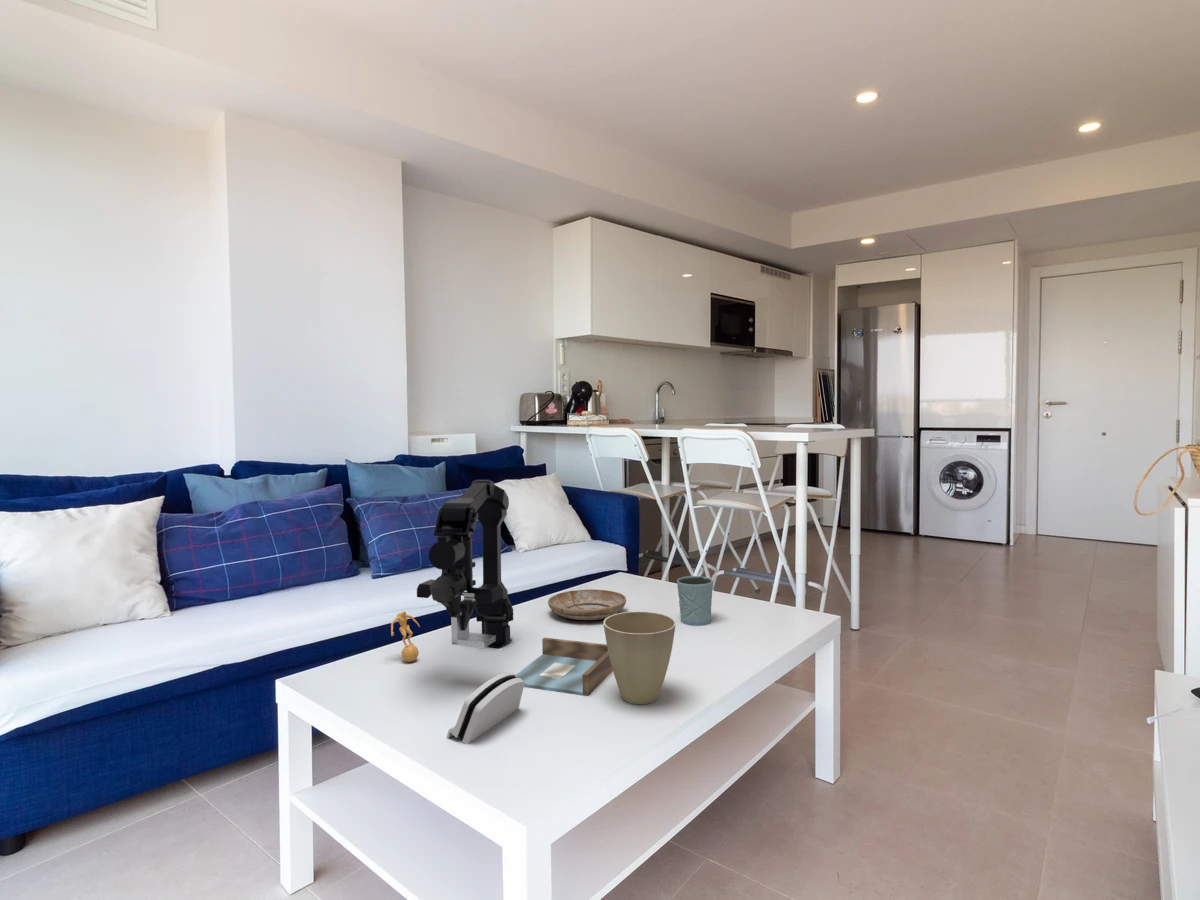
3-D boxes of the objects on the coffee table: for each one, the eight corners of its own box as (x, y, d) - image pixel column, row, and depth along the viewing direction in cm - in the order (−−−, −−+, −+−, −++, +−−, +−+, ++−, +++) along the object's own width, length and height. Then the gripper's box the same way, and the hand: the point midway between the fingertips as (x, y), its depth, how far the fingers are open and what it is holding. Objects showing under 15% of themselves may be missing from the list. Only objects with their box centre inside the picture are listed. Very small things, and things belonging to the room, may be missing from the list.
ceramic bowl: (599, 600, 214) (599, 584, 214) (641, 617, 194) (641, 601, 194) (535, 611, 202) (534, 595, 201) (572, 631, 182) (572, 613, 181)
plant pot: (589, 699, 136) (588, 623, 136) (633, 678, 148) (632, 607, 147) (648, 720, 127) (647, 638, 126) (690, 695, 138) (689, 619, 138)
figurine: (401, 668, 155) (400, 617, 155) (385, 663, 159) (383, 613, 158) (429, 657, 162) (428, 609, 162) (413, 653, 166) (411, 605, 165)
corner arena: (506, 684, 145) (506, 664, 145) (544, 655, 163) (544, 637, 163) (588, 695, 138) (587, 675, 138) (618, 664, 156) (618, 645, 156)
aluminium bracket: (451, 644, 144) (451, 617, 143) (463, 637, 148) (463, 610, 148) (484, 648, 141) (483, 620, 141) (495, 640, 146) (495, 613, 145)
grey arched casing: (498, 703, 135) (511, 660, 133) (517, 715, 133) (530, 671, 131) (444, 738, 120) (458, 691, 118) (464, 752, 118) (479, 704, 117)
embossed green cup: (718, 619, 191) (718, 578, 190) (704, 629, 182) (704, 585, 182) (686, 614, 196) (686, 574, 196) (671, 623, 188) (671, 581, 187)
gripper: (400, 564, 140) (402, 637, 141) (478, 569, 134) (479, 645, 135) (430, 554, 151) (431, 621, 152) (503, 559, 145) (505, 629, 146)
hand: (460, 629), depth 146 cm, fingers closed on aluminium bracket
